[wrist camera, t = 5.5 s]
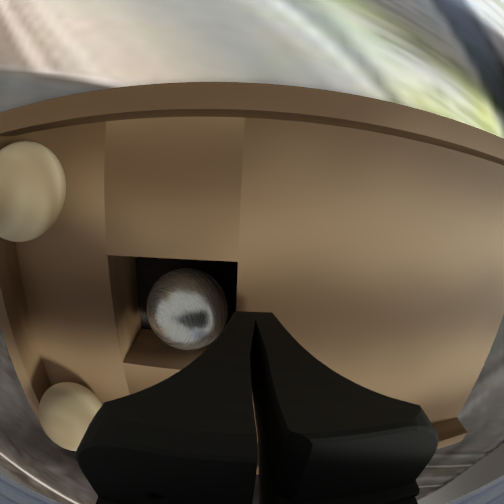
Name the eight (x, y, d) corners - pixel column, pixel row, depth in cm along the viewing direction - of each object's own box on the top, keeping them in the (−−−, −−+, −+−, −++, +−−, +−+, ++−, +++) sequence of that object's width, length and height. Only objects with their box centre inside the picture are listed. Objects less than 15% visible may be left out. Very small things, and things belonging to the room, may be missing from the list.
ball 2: (122, 423, 13) (102, 472, 10) (67, 410, 13) (43, 452, 10) (108, 375, 12) (79, 426, 9) (49, 362, 12) (15, 404, 9)
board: (433, 398, 17) (461, 441, 12) (75, 390, 16) (46, 436, 12) (494, 156, 12) (553, 162, 8) (39, 124, 12) (-22, 120, 7)
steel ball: (237, 341, 14) (193, 378, 11) (180, 315, 15) (131, 342, 12) (247, 272, 13) (198, 298, 10) (183, 251, 14) (128, 269, 11)
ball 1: (85, 230, 10) (31, 257, 7) (21, 229, 10) (-34, 252, 7) (84, 137, 9) (25, 133, 6) (19, 146, 9) (-40, 149, 6)
